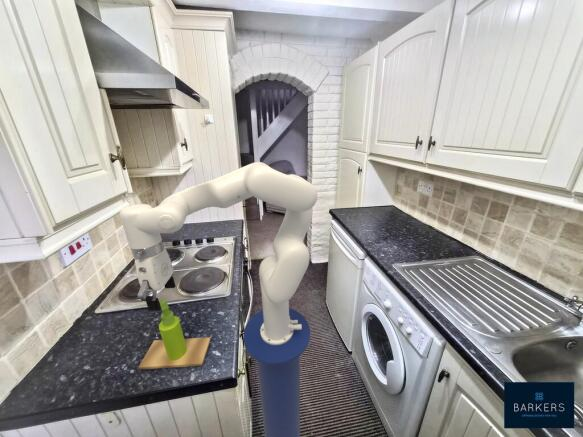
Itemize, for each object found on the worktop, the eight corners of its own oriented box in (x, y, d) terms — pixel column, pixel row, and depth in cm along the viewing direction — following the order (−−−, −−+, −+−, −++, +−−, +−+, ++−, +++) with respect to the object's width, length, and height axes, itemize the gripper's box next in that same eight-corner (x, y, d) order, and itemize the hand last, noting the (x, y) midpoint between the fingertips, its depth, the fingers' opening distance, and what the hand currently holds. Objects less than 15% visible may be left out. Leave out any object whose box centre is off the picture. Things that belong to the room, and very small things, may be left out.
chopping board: (210, 339, 83) (210, 337, 83) (202, 365, 74) (201, 363, 73) (154, 342, 82) (154, 340, 82) (139, 369, 73) (138, 367, 73)
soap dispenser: (183, 339, 82) (171, 294, 75) (188, 353, 77) (176, 306, 69) (165, 348, 79) (151, 302, 71) (169, 363, 73) (155, 315, 66)
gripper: (145, 265, 55) (162, 319, 62) (175, 234, 71) (186, 279, 78) (113, 267, 55) (134, 321, 61) (150, 235, 71) (164, 281, 77)
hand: (163, 298), depth 69 cm, fingers open, 9 cm apart
